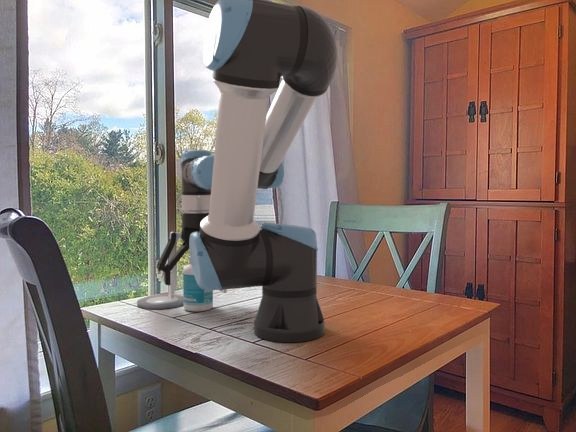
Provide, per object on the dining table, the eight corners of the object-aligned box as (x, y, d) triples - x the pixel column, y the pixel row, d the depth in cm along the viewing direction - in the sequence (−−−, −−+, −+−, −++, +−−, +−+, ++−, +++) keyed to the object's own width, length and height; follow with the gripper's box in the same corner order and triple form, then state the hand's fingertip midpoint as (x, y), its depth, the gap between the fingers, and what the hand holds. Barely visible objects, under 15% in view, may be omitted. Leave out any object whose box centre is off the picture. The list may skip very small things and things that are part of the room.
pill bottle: (210, 312, 119) (209, 258, 118) (180, 312, 119) (179, 258, 118) (215, 305, 126) (214, 254, 125) (187, 305, 126) (186, 254, 126)
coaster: (192, 305, 125) (192, 302, 125) (141, 311, 120) (141, 308, 120) (180, 295, 137) (180, 292, 137) (133, 300, 131) (133, 297, 131)
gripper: (238, 210, 130) (238, 287, 131) (143, 212, 119) (145, 296, 120) (248, 211, 123) (249, 292, 125) (149, 214, 112) (151, 303, 114)
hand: (198, 295), depth 122 cm, fingers open, 13 cm apart
